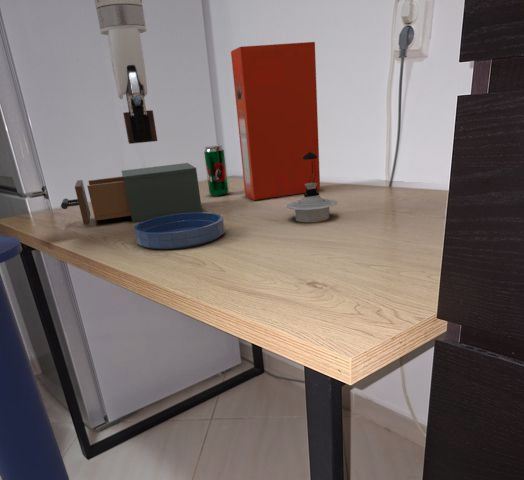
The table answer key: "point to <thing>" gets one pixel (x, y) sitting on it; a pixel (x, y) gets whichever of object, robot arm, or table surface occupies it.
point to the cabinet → (162, 191)
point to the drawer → (101, 199)
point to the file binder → (277, 117)
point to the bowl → (179, 230)
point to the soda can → (216, 170)
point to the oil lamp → (311, 202)
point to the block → (129, 129)
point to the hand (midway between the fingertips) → (142, 139)
